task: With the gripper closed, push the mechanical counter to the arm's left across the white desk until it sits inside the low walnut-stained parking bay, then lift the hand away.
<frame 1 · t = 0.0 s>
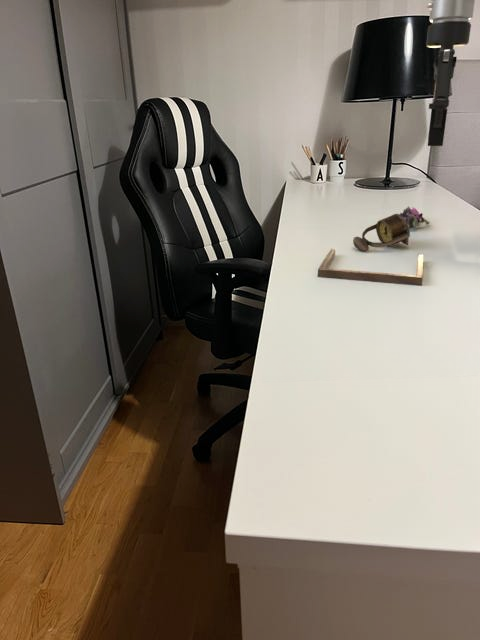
hand: (434, 142, 102), 22 cm above the table, tool pointing down, fingers open, 13 cm apart
parking bay: (372, 267, 100), on the table
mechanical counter: (379, 247, 114), on the table
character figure: (410, 225, 132), on the table
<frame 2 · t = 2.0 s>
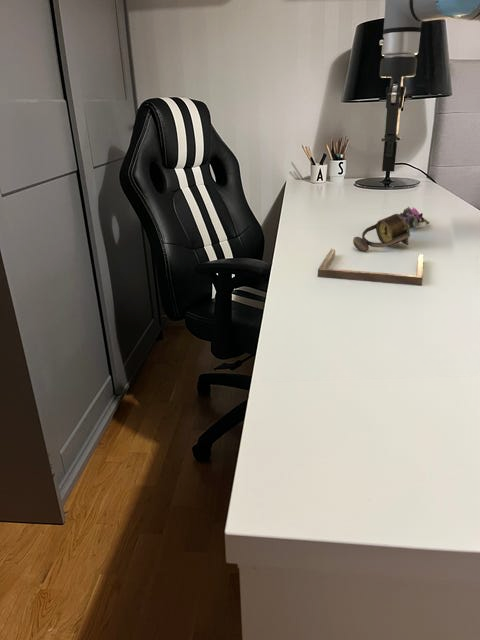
hand: (388, 170, 116), 15 cm above the table, tool pointing down, fingers closed
nothing on the table moved.
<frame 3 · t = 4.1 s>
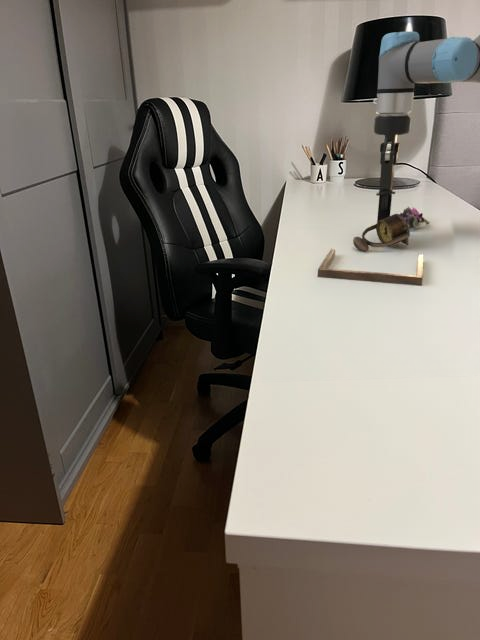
hand: (383, 223, 118), 4 cm above the table, tool pointing down, fingers closed
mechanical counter: (379, 247, 114), on the table, touching gripper
everything else where it was.
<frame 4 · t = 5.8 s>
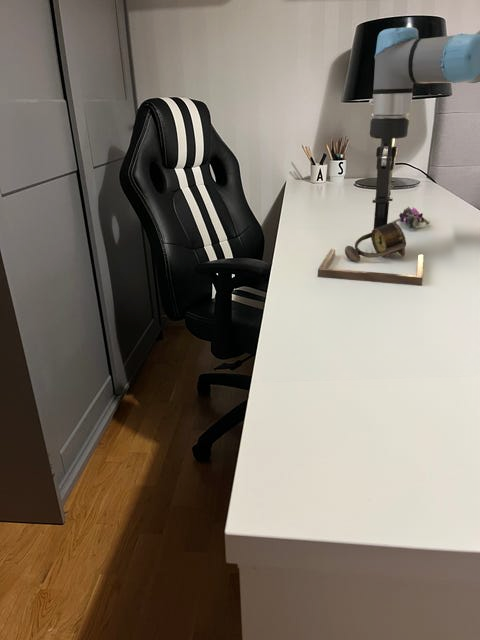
hand: (379, 231, 110), 4 cm above the table, tool pointing down, fingers closed
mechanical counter: (373, 257, 107), on the table, touching gripper
everything else where it was.
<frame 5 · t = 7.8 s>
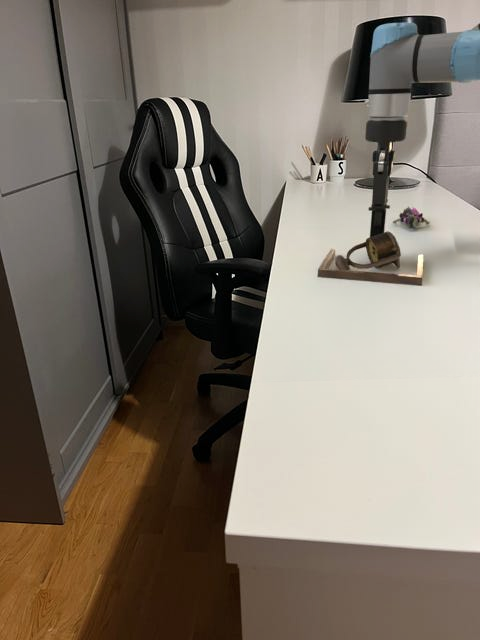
hand: (376, 241, 104), 4 cm above the table, tool pointing down, fingers closed
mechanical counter: (366, 268, 101), on the table, touching gripper
everything else where it was.
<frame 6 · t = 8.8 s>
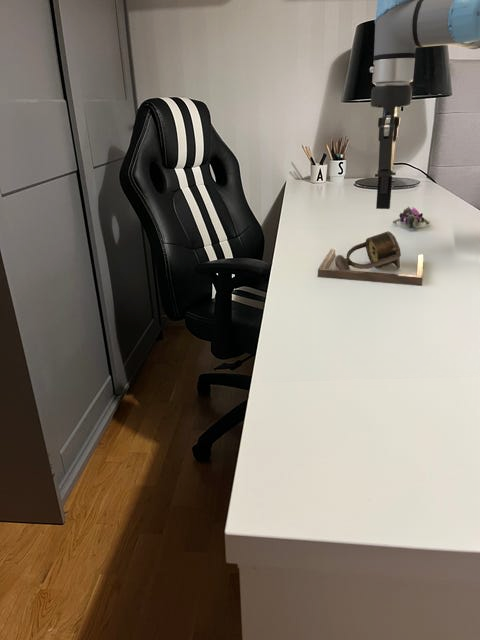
hand: (383, 208, 105), 10 cm above the table, tool pointing down, fingers closed
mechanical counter: (366, 268, 101), on the table
everything else where it was.
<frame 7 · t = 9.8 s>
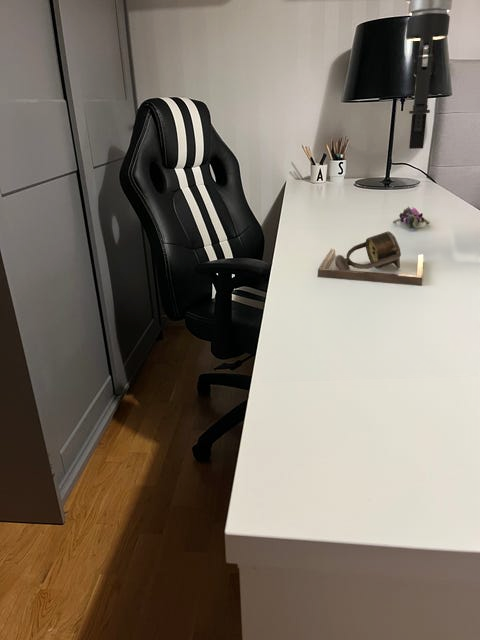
hand: (416, 148, 103), 21 cm above the table, tool pointing down, fingers closed
nothing on the table moved.
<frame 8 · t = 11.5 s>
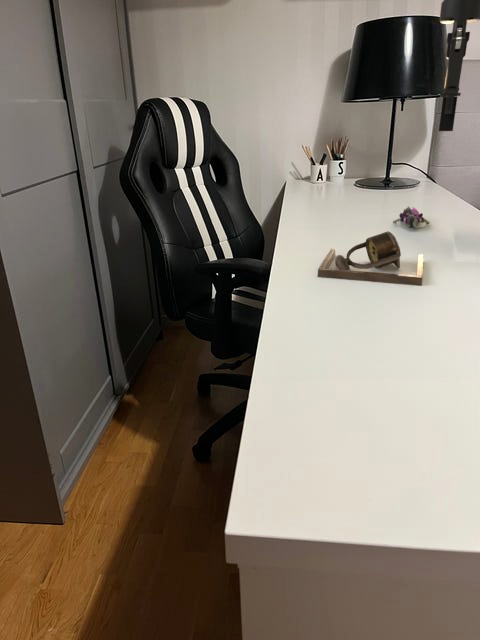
hand: (445, 130, 104), 24 cm above the table, tool pointing down, fingers closed
nothing on the table moved.
at the end: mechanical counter inside the target area on the parking bay (1.1 cm from its centre), point 0.0 cm above the parking bay's base; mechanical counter tilted 0°; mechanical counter moved 15.9 cm from its start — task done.
